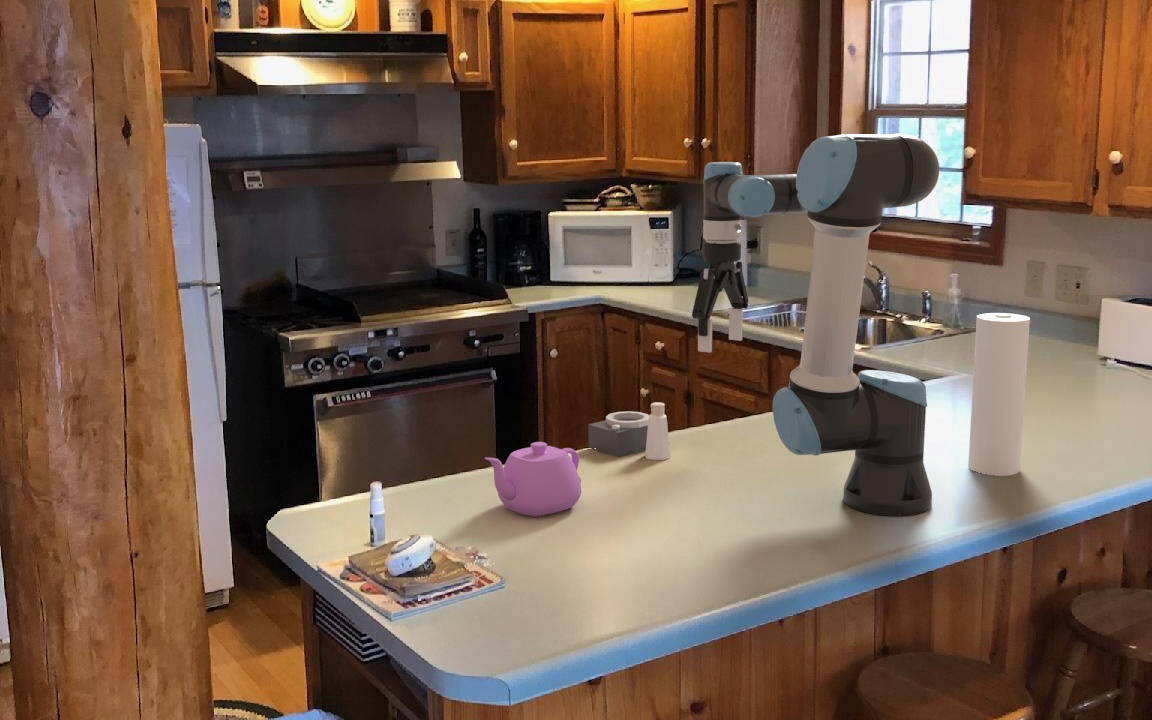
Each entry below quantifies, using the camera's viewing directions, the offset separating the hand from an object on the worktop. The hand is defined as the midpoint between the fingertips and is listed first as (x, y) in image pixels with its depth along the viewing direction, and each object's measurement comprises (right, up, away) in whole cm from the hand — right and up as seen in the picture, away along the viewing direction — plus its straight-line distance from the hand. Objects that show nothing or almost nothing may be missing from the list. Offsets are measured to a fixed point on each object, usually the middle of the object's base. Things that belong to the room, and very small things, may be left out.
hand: (720, 345), depth 241 cm
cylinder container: (+51, -24, -12) cm, 58 cm away
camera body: (-18, -21, +6) cm, 28 cm away
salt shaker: (-13, -23, -1) cm, 26 cm away
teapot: (-37, -29, -32) cm, 56 cm away
